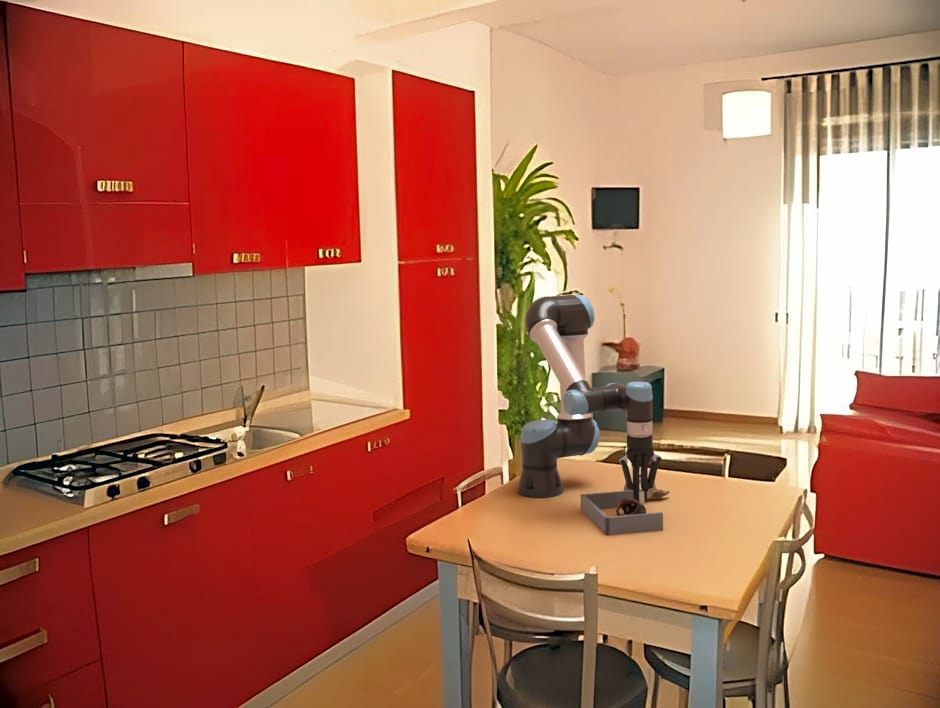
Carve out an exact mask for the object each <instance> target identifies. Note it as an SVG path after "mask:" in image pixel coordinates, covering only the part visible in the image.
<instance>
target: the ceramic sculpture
mask: <svg viewBox="0 0 940 708" xmlns="http://www.w3.org/2000/svg"><path fill="white" fill-rule="evenodd" d="M639 487H640V489H641V490H642V488H641V474H639ZM625 490H630V489H629V488H627V484H626V483H625V485H624V487H623V491H625ZM648 490H649V491H648V492H647V501H648V500H651V499H652V498H653V499H660V498H664V497H665V496H668V494H669V493H670V490H669V491H668V490H662V489H658V488H657V485H656V482H654V486H653V488H650V489H648Z"/></svg>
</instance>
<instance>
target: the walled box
mask: <svg viewBox="0 0 940 708" xmlns="http://www.w3.org/2000/svg"><path fill="white" fill-rule="evenodd" d="M624 498H626V499H633V490H625V491H624V490H617V491H616V490H615V491H604V492H593V493H583V494H580V511H581V512H582V513H583V514H584V515H585V516H586V517H587V518H588V519H589V520H590V521H591V522H592V523H593V524H594V525H595V526H596V527H597V528H598V529H599V530H600V531H601V532H602V533H603V534H604V535H605V536H614V535H615V536H616V535H625V534H633V533H634V534H635V533H643V532H655V531H663V530H664V513H663V512H662V511H657V512H648V513H647V512H646V513H645V514H634V515H623V516H614V515H613V516H607V515H606V513H604V512H603V511H602V510H608V509H616V507H617V505H618V504H619V503H620V502H621V500H622V499H624ZM632 505H634V504H632Z"/></svg>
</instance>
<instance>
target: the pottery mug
mask: <svg viewBox="0 0 940 708" xmlns="http://www.w3.org/2000/svg"><path fill="white" fill-rule="evenodd" d="M632 504H634V505H632ZM620 509H622V511H623V513H622V512H620ZM615 511H616V513H615V515H616V516H623V515H634V514H645V513H647V509H646V506H645V504H644V505H643V504H641V503H639V502H638V501H637V500H635V499H626V498H624V499H622V500H621V502H620V503H619V504H618V505H617V507H616V508H615Z"/></svg>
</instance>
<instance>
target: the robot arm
mask: <svg viewBox="0 0 940 708" xmlns="http://www.w3.org/2000/svg"><path fill="white" fill-rule="evenodd" d="M524 320H525V321H524V325H525V331H526V333H527V334H528V336H529V338H530V339H531V341H532V342H535V343H536V344H537V346H538V347H539V349H540V351H541V353H542V355H543V356H544V358H545V360H546V362H547V363H548V365H549V367H550V368H551V371H552V372H553V374H554V376H555V377H556V379H557V381H558V383H559V388H560V389H559V393H560V394H559V395H560V412H559V414H558V415H557V416H556V421H557V422H556V421H555V420H554V419H553V420H552V419H548V418H547V419H537V420H534V421H530V422H527V423H525V424H524V425H523V426H522V427H521V433H520V442H521V444H520V446H521V472H520V475H519V479H518V482H517V486H516V487H517V493H518V494H519V495H521V496H524V497H530V498H551V497H554V496H560V495H561V494H562V493H564V484H563V481H562V478H561V476H560V475H561V474H560V473H559V470H558V459H560V458H561V459H563V458H570V457H576V456H584V455H588V454H591V453H593V452H594V451H595V450H596V449H597V447H598V445H599V442H600V436H601V435H600V428H599V427H598V423H597V422H596V420H595V419H593V417H592V414H594V413H595V414H597V413H605V412H611V411H622V412H625V415H626V435H627V436H626V452H625V455H624V456H623V457H620V458H618V462H619V464H620V465H621V467H622V472H623V476H624V480H625V484H627V488H629V489H630V490H633V499H635V500H637V501H638V502H639V503H641V504H643V505H644V506H645V502H647V501H648V500H647V492H648V491H649V490H648V489H650V488H653V486H654V482H655V481H656V477H657V473H658V467H659V464H660V462H661V461H662V459H663V458H662V457H661V456H659V455H658V454H655V451H654V449H653V447H654V443H653V441H654V439H653V438H654V437H653V435H652V434H653V432H654V431H653V399H654V396H653V386H652V384H651V383H650V382H647V381H630V382H628V383H627V384H626V385H624V384H622V383H615V382H610V383H607V384H606V385H604V386H597V387H592V386H590V384H589V382H588V380H587V379H586V361H585V343H584V342H585V341H584V340H585V339H586V337H587V336H588V335H589V330H590V329H591V328H592V327H593V325H594V323H595V311H594V307H593V305H592V303H591V301H590V299H588V298H587V297H586V296H584V294H583V295H582V294H564V295H554V296H550V295H549V296H542V297H539V298H537V299H536V300H535V299H534V300H533V302H532V303H531V304H530V305H529V306H528V308H527V310H526V313H525V317H524ZM629 462H630V464H631V468H632V476H631V472H630V468H629V465H628V464H629ZM650 462H651V464H650V467H649V463H650ZM648 469H649V472H648ZM639 475H641V488H642V490H641V489H640V487H639ZM655 483H656V482H655Z"/></svg>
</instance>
